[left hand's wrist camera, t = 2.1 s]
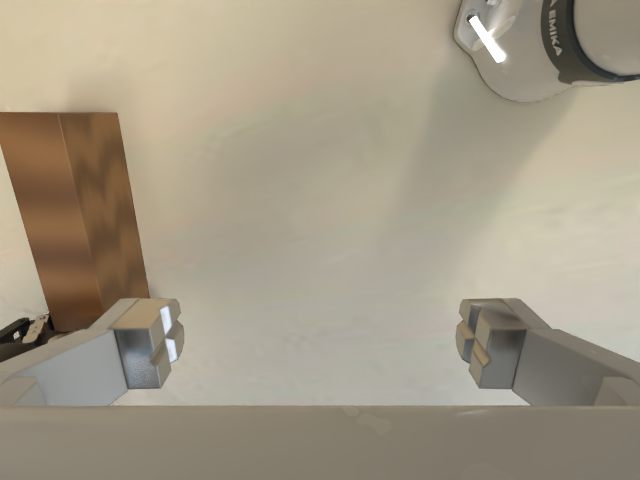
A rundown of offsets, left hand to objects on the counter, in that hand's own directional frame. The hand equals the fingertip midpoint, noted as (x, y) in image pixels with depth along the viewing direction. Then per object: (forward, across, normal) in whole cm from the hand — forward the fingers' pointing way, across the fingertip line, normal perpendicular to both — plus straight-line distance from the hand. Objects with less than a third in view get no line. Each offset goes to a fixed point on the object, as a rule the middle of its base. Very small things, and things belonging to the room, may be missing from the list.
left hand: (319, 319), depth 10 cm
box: (+36, +28, +8) cm, 46 cm away
